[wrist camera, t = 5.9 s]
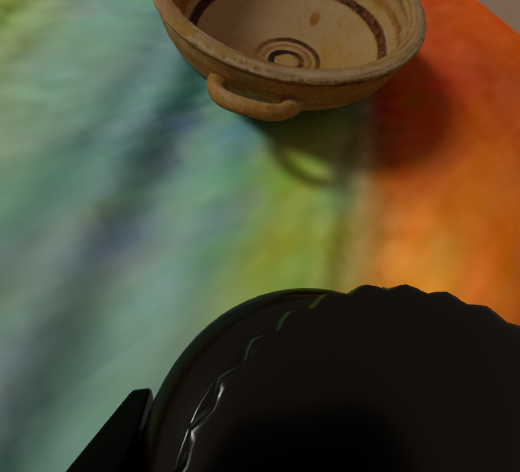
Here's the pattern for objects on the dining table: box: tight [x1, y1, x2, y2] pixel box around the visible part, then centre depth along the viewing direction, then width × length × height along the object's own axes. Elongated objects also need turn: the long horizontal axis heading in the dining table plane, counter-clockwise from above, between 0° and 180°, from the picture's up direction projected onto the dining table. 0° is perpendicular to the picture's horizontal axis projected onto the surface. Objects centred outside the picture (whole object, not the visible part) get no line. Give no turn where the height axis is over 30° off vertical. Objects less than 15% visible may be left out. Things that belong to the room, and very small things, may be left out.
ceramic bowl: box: [153, 0, 426, 122], centre depth 29 cm, size 30×24×8 cm
